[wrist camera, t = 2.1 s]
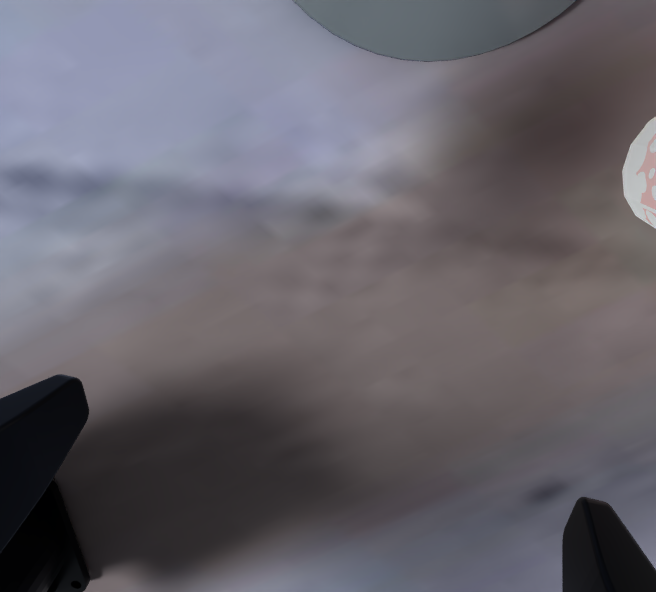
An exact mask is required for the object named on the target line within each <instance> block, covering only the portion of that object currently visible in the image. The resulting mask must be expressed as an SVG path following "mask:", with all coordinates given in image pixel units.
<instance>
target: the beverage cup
mask: <svg viewBox="0 0 656 592" xmlns="http://www.w3.org/2000/svg"><path fill="white" fill-rule="evenodd" d="M622 174H623V187H624V196H625V198H626V200H627V201H628V203H629V205H630V207H631V208H632V210H633V212H634V214H635V215H636V216H637V217H639V218H640V219H642V220H643V221H645V222H646V223H648V224H649V225H651V226H652V227H654V228H655V229H656V117H655V118H653V119H652V120H650V121H649V122H648V123H647V124H646V126H645V127H644V128H643V129H642V131H641V132H640V133H639V135H638V136H637V137H636V139H635V140H634V141H633V142H632V144H631V145H630V148H629V152H628V155H627V158H626V161H625V164H624V167H623V170H622Z"/></svg>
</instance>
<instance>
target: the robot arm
mask: <svg viewBox="0 0 656 592" xmlns="http://www.w3.org/2000/svg"><path fill="white" fill-rule="evenodd" d="M88 415H89V407H88V403H87V400H86V396H85V392H84V388H83V385H82V382H81V381H80V380H79V379H78V378H75V377H71V376H67V375H62V374H59V375H55V376H52V377H50V378H48V379H45V380H43V381H41V382H38V383H36V384H34V385H31V386H29V387H27V388H24V389H22V390H20V391H17V392H15V393H13V394H10V395H8V396H6V397H3V398H1V399H0V592H83V591H84V590H85V589H86V587H87V585H88V584H89V582H90V577H89V574H88V571H87V568H86V565H85V563H84V560H83V557H82V554H81V551H80V548H79V546H78V543H77V540H76V537H75V534H74V531H73V529H72V526H71V523H70V520H69V517H68V514H67V512H66V509H65V506H64V503H63V500H62V497H61V495H60V492H59V489H58V486H57V484H56V483H55V482H54V481H53V480H52V479H53V478H54V476H55V474H56V473H57V471H58V469H59V467H60V466H61V464H62V462H63V461H64V459H65V457H66V456H67V454H68V452H69V451H70V449H71V447H72V445H73V444H74V442H75V440H76V439H77V437H78V435H79V434H80V432H81V430H82V429H83V427H84V425H85V423H86V421H87V419H88ZM45 490H46V491H45ZM562 563H563V592H656V570H655V568H654V567H653V565H652V564H651V562H650V561H649V560H648V558H647V557H646V555H645V554H644V553H643V551H642V550H641V548H640V547H639V545H638V544H637V543H636V541H635V540H634V538H633V537H632V535H631V534H630V533H629V531H628V530H627V528H626V527H625V525H624V524H623V523H622V521H621V520H620V518H619V517H618V516H617V514H616V513H615V511H614V510H613V508H612V507H611V506H610V505H609V504H608V503H606V502H603V501H599V500H595V499H591V498H587V497H581V498H579V499H578V500H577V502H576V504H575V506H574V508H573V510H572V513H571V515H570V517H569V520H568V522H567V524H566V526H565V529H564V533H563V544H562Z"/></svg>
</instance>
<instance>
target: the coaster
mask: <svg viewBox="0 0 656 592" xmlns="http://www.w3.org/2000/svg"><path fill="white" fill-rule="evenodd" d="M293 1H294V2H295V3H296V4H297V5H298V6H299V7H300V8H301V9H302V10H303V11H304V12H305V13H306V14H307V15H308V16H309V17H311V18H312V19H313V20H315V21H316V22H317V23H319V24H320V25H321V26H323V27H324V28H325V29H327V30H328V31H329V32H331V33H332V34H334V35H336V36H338V37H339V38H341V39H343V40H345V41H347V42H348V43H350V44H352V45H354V46H357V47H359V48H362V49H365V50H367V51H370V52H372V53H375V54H378V55H382V56H387V57H391V58H396V59H400V60H410V61H423V62H433V61H448V60H456V59H461V58H466V57H471V56H475V55H480V54H483V53H485V52H488V51H491V50H494V49H497V48H500V47H502V46H505V45H508V44H510V43H512V42H514V41H516V40H518V39H520V38H522V37H524V36H526V35H528V34H530V33H532V32H534V31H536V30H537V29H539V28H540V27H542V26H543V25H545V24H546V23H548V22H549V21H551V20H552V19H554V18H555V17H557V16H558V15H559V14H561V13H562V12H563V11H564V10H565V9H567V8H568V7H569V6H570V5H571V4H572V3H574V2H575V1H576V0H293Z"/></svg>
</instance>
